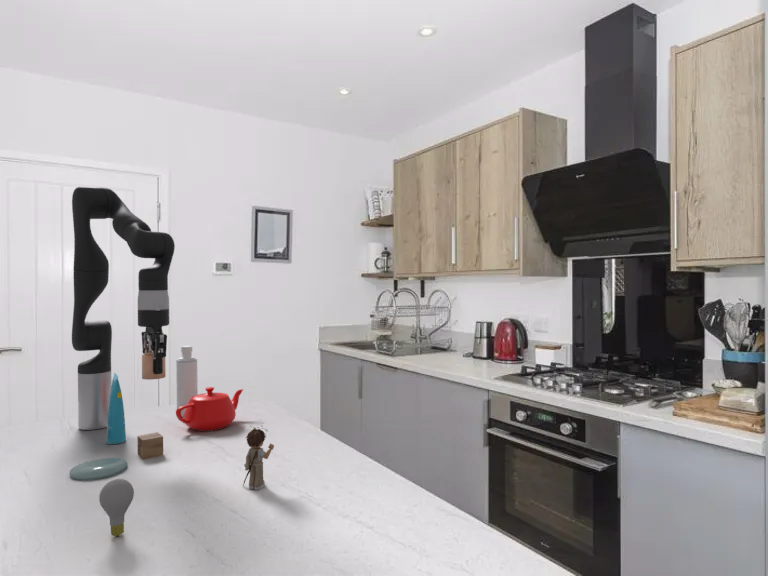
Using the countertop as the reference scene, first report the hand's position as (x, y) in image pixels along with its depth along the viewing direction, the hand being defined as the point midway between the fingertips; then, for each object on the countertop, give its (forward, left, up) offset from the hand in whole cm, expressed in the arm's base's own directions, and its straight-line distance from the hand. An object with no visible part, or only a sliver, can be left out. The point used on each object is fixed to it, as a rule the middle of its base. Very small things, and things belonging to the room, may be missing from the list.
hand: (154, 372), depth 134 cm
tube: (-19, -5, -22) cm, 29 cm away
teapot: (-17, +22, -22) cm, 36 cm away
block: (-1, -1, -22) cm, 22 cm away
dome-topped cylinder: (0, 0, -1) cm, 1 cm away
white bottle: (-36, +21, -22) cm, 47 cm away
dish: (+3, -14, -22) cm, 26 cm away
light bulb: (+41, -19, -22) cm, 50 cm away
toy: (+37, +10, -22) cm, 44 cm away
